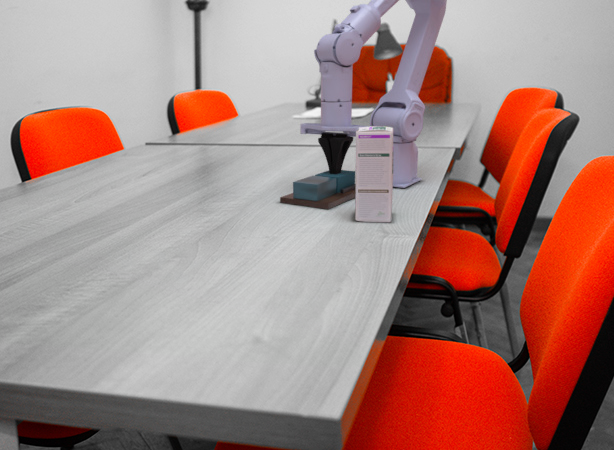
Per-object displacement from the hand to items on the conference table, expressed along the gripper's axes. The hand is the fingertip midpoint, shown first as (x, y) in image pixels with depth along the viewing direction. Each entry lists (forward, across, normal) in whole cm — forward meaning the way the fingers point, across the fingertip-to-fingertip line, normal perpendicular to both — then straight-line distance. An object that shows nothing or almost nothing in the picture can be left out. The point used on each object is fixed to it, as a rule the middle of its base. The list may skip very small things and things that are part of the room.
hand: (335, 173), depth 109 cm
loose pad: (+3, 0, 0) cm, 3 cm away
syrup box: (+4, +14, -13) cm, 19 cm away
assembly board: (+4, 0, -4) cm, 5 cm away
